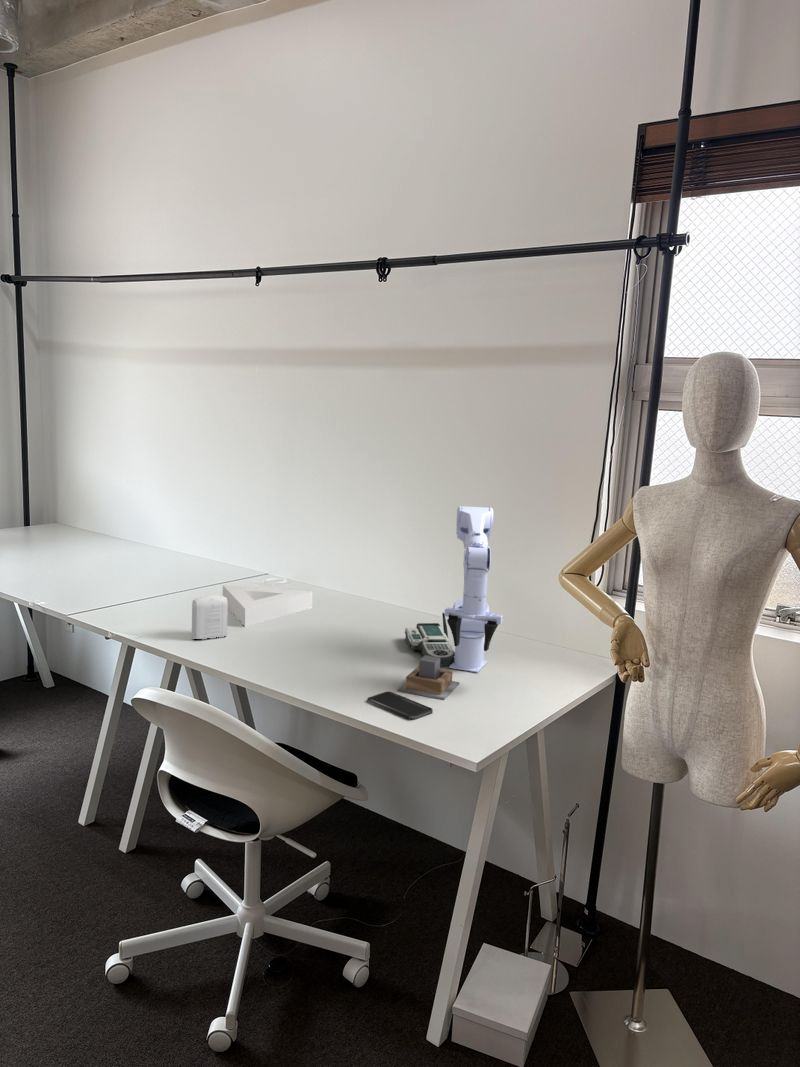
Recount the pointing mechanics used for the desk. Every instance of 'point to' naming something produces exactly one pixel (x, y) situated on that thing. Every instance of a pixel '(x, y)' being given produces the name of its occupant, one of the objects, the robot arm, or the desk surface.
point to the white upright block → (209, 617)
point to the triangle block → (264, 602)
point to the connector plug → (429, 667)
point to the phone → (400, 705)
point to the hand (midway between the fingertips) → (471, 647)
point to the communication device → (431, 641)
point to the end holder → (429, 685)
